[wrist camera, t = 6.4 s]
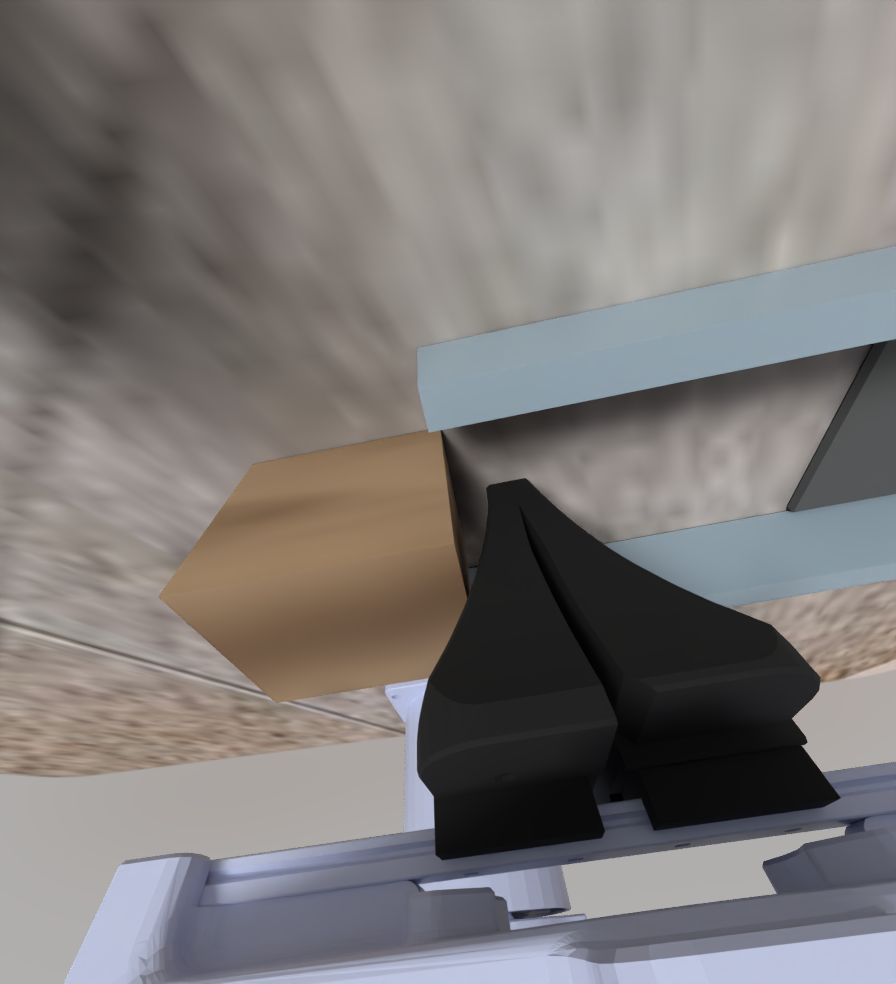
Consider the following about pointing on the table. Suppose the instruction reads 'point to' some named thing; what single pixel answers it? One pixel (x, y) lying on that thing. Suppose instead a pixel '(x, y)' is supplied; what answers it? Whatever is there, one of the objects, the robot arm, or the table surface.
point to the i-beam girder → (687, 356)
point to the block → (332, 569)
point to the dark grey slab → (857, 440)
